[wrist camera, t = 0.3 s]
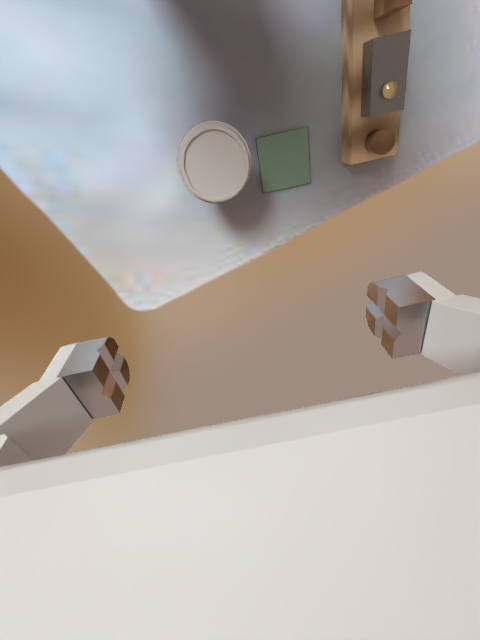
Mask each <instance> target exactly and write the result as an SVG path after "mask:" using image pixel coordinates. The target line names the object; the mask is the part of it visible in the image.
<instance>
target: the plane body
mask: <svg viewBox="0 0 480 640" xmlns="http://www.w3.org/2000/svg"><path fill="white" fill-rule="evenodd" d="M410 4H412V0H342V166H346V165H353V164H358V163H362V162H367V161H371V160H376V159H380V158H385V157H389V156H393V155H397V145H398V134H399V123H400V111H401V110H399V111H395V112H390V113H386V114H381V115H377V116H373V117H361V90H362V55H363V43H365V42H367V41H369V40H371V39H373V38H377V37H381V36H386V35H390V34H394V33H398V32H403V31H407V30H408V22H409V11H410Z"/></svg>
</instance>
